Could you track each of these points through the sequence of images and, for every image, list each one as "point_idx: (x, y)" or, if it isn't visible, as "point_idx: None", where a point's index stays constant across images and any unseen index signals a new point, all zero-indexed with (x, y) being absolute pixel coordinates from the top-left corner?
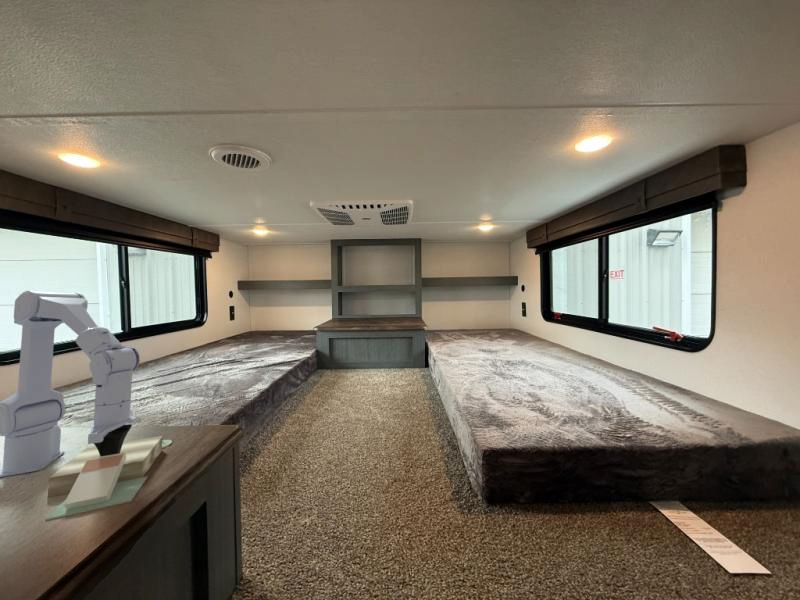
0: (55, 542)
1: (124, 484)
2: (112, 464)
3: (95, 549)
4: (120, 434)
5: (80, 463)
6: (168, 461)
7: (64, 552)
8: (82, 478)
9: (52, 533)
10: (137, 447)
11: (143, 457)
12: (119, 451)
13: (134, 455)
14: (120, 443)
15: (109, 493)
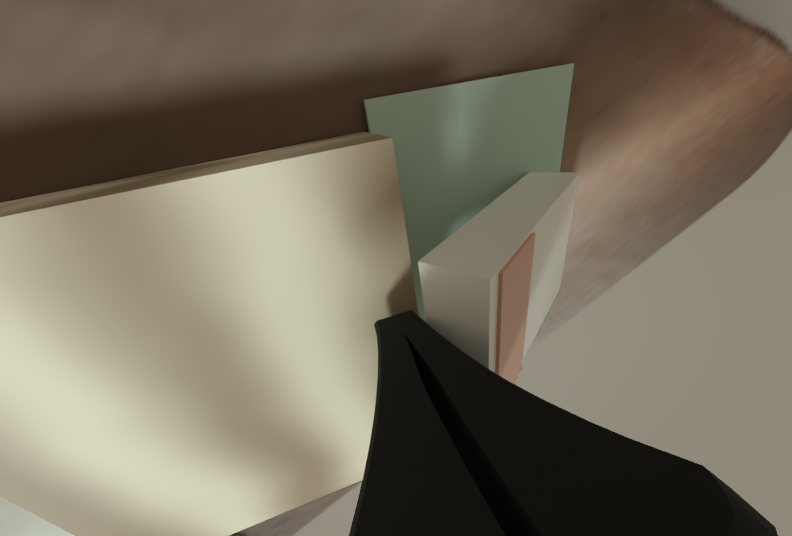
0: (656, 192)
1: (418, 186)
2: (529, 271)
3: (773, 37)
4: (759, 513)
5: (338, 455)
6: (116, 46)
7: (718, 134)
8: (532, 330)
9: (610, 231)
10: (110, 345)
11: (327, 169)
12: (404, 348)
13: (273, 270)
14: (470, 399)
15: (550, 177)
